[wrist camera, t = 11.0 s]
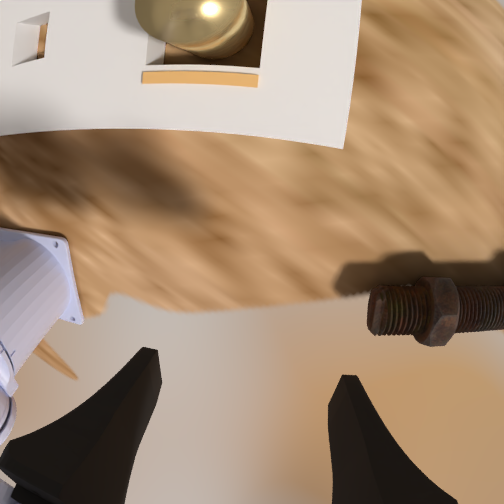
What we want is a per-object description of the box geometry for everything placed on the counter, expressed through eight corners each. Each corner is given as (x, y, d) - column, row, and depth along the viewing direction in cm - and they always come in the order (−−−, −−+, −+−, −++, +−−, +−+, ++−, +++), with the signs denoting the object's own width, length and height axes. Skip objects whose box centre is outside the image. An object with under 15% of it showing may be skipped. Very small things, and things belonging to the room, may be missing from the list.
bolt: (363, 269, 22) (518, 272, 20) (358, 339, 22) (513, 331, 20) (386, 270, 16) (561, 273, 14) (378, 362, 16) (554, 343, 14)
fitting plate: (-3, 132, 17) (-28, 140, 15) (9, -11, 11) (-14, -15, 9) (334, 141, 16) (343, 149, 14) (355, -48, 11) (365, -67, 8)
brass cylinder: (177, 59, 15) (129, 46, 10) (184, -4, 13) (141, -40, 8) (250, 60, 15) (234, 42, 9) (257, -5, 13) (244, -49, 7)
